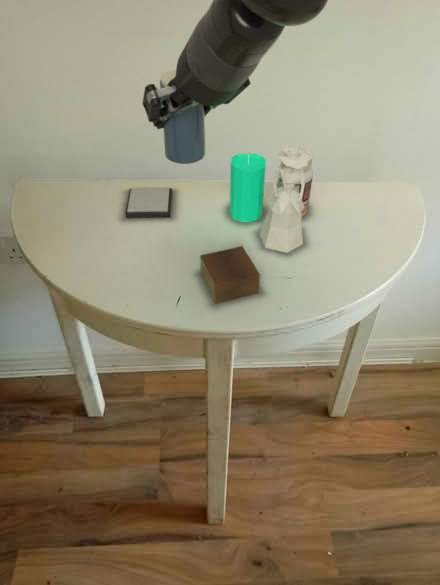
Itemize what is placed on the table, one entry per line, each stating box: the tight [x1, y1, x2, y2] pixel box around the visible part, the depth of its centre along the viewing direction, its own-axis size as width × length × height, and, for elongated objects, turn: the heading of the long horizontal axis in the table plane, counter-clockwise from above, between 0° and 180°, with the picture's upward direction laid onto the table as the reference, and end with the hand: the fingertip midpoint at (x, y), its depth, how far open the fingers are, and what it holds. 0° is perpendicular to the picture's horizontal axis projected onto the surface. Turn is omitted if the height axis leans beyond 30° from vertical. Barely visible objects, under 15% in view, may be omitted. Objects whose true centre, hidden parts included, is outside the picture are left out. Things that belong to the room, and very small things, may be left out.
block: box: [199, 245, 261, 305], centre depth 77 cm, size 7×7×4 cm
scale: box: [124, 187, 173, 219], centre depth 93 cm, size 8×8×1 cm
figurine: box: [259, 143, 308, 254], centre depth 80 cm, size 7×8×18 cm
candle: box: [229, 152, 267, 223], centre depth 87 cm, size 6×6×12 cm
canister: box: [159, 69, 206, 165], centre depth 69 cm, size 6×6×11 cm
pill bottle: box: [277, 146, 314, 217], centre depth 88 cm, size 6×6×11 cm
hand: (178, 116), depth 71 cm, fingers closed on canister, 6 cm apart
